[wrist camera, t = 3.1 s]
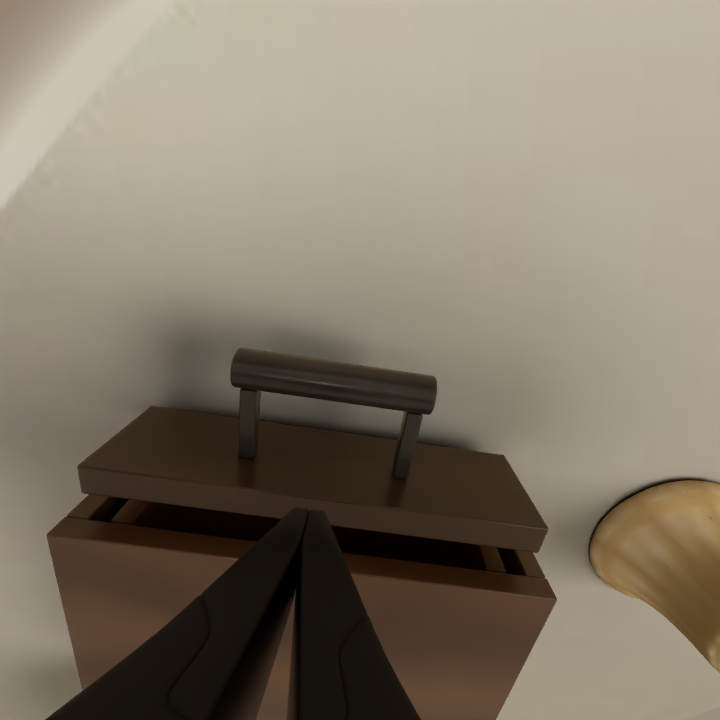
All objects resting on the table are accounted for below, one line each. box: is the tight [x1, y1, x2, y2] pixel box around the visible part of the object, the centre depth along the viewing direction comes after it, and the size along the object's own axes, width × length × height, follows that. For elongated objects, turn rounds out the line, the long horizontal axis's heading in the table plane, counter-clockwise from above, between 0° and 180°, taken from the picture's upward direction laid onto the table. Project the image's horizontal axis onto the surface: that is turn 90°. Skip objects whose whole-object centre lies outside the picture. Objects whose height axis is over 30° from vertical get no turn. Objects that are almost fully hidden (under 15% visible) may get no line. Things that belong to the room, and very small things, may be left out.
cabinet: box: [47, 494, 557, 720], centre depth 17 cm, size 17×18×6 cm
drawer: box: [77, 348, 548, 574], centre depth 16 cm, size 20×16×4 cm
